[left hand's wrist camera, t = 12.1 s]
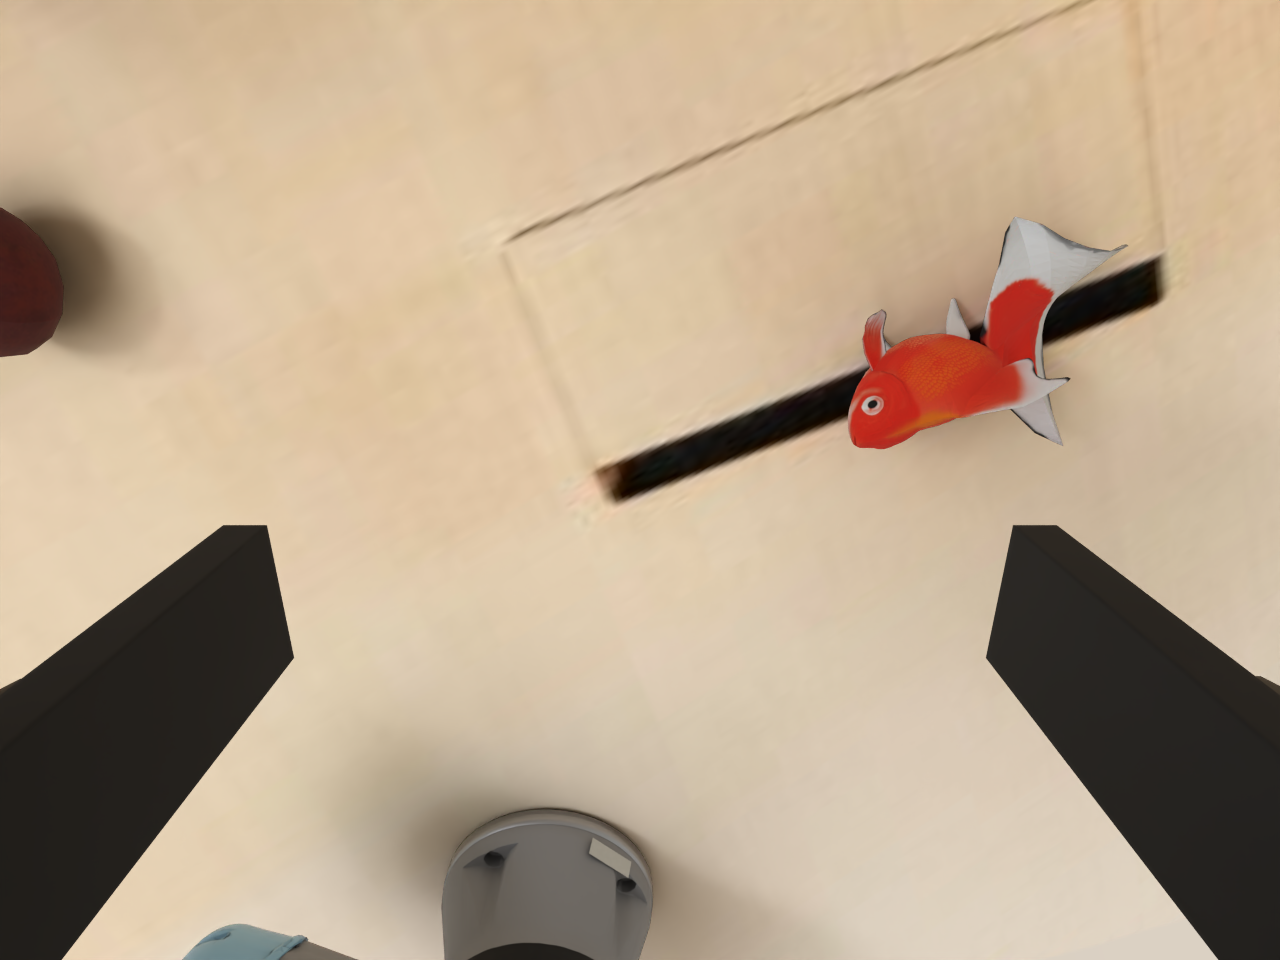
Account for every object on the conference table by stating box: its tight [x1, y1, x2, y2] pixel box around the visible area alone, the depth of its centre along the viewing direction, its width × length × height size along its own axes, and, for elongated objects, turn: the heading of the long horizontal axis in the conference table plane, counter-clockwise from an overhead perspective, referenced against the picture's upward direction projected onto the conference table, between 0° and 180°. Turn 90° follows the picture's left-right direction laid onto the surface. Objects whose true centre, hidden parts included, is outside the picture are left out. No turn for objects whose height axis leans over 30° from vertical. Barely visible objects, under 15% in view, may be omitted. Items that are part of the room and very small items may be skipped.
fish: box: [848, 217, 1128, 449], centre depth 35 cm, size 11×16×10 cm
